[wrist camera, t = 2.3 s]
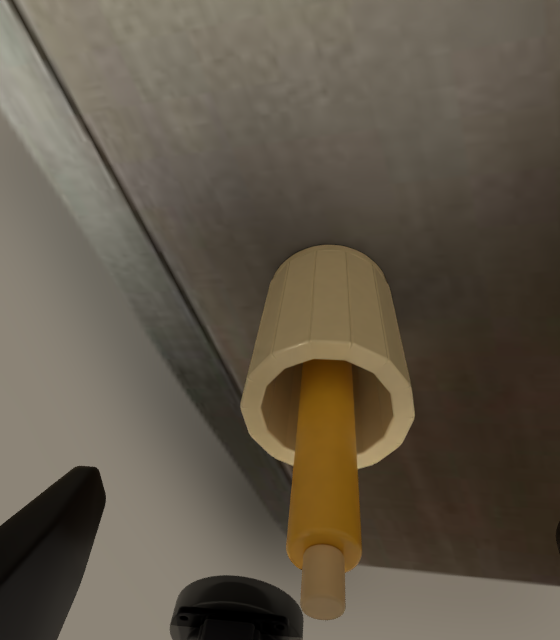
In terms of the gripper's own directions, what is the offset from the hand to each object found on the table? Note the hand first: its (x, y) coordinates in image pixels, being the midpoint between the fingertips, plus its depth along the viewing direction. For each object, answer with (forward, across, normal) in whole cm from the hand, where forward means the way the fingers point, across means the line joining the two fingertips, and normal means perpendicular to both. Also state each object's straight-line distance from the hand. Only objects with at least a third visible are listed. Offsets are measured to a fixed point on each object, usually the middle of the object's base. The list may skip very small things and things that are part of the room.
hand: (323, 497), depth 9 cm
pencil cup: (+8, 0, 0) cm, 8 cm away
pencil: (+7, 0, 0) cm, 7 cm away
